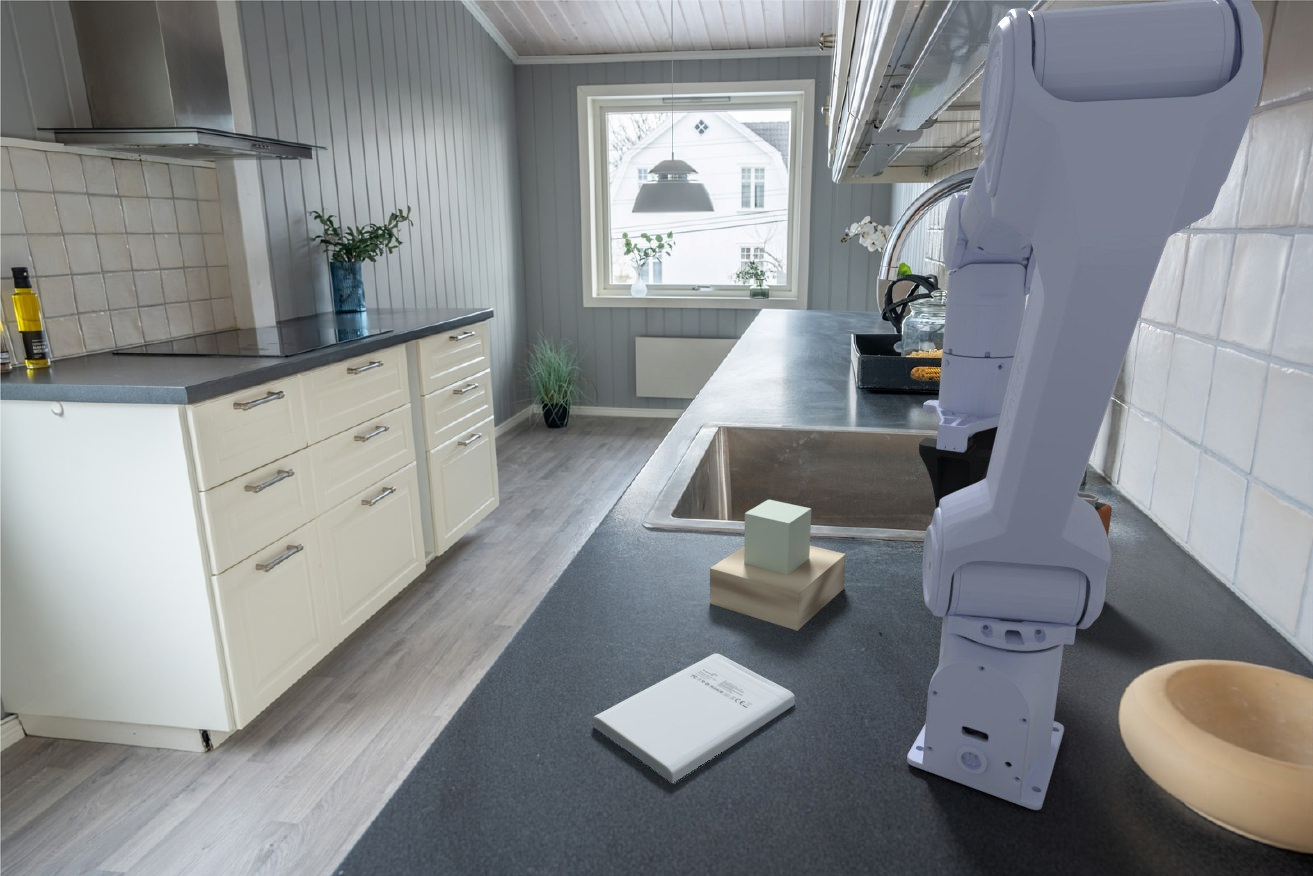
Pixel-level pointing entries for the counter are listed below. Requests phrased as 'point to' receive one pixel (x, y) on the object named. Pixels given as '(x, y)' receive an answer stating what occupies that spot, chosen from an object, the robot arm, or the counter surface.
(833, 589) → the birch block
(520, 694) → the counter surface
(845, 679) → the counter surface
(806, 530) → the sage block
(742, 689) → the external hard drive
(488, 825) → the counter surface
